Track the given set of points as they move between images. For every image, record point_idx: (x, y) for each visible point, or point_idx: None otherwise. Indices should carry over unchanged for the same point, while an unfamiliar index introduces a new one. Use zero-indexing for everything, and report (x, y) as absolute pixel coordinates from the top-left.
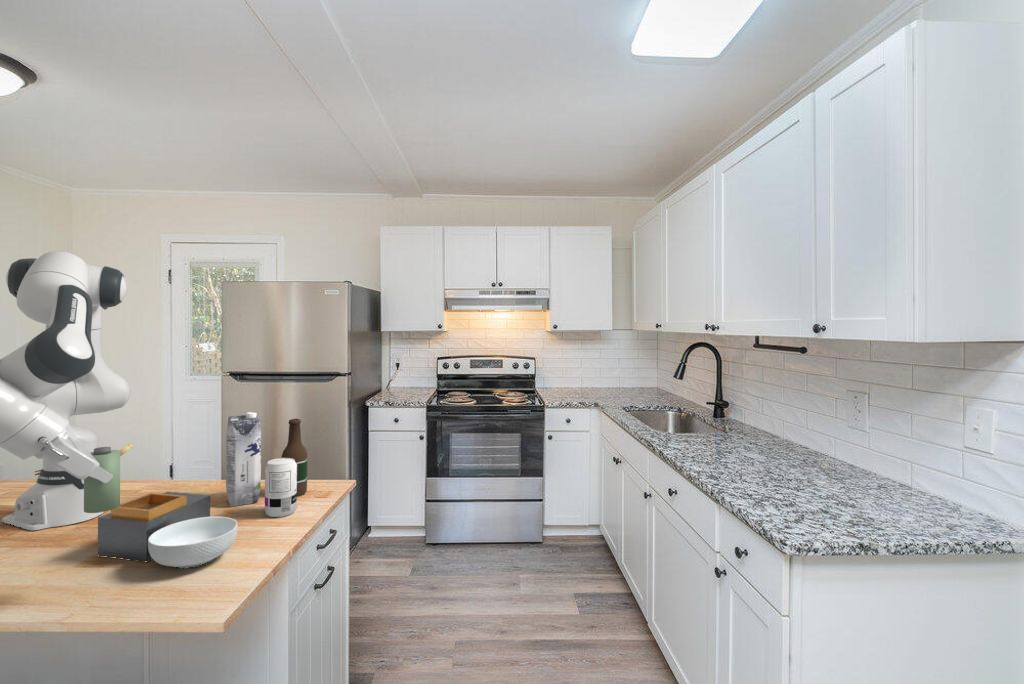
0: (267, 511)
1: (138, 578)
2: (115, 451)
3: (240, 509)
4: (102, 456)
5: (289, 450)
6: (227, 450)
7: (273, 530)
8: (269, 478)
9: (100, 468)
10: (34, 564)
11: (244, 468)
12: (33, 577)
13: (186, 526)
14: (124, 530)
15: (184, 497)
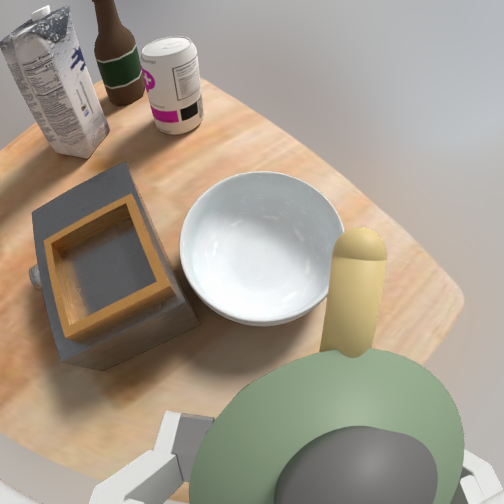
0: (178, 128)
1: (264, 353)
2: (350, 386)
3: (109, 152)
4: (458, 474)
5: (114, 38)
6: (41, 85)
7: (240, 147)
8: (173, 79)
9: (479, 460)
10: (62, 438)
11: (81, 95)
12: (115, 459)
13: (189, 236)
14: (133, 336)
15: (133, 198)
